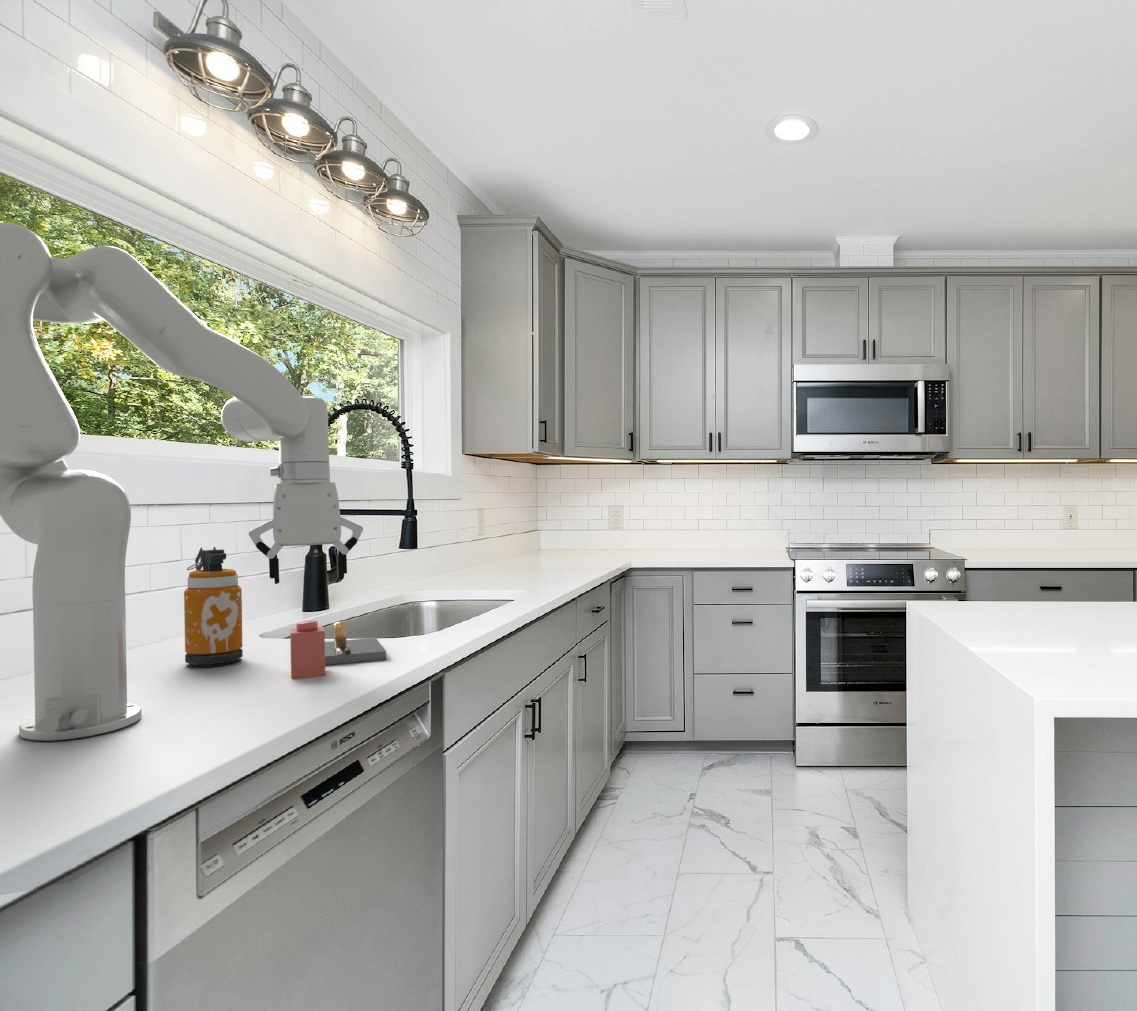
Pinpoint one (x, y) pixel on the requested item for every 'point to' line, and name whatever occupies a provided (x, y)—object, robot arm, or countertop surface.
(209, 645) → the canister
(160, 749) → the countertop surface
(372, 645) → the grey plate with peg
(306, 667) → the pink cube with dome
